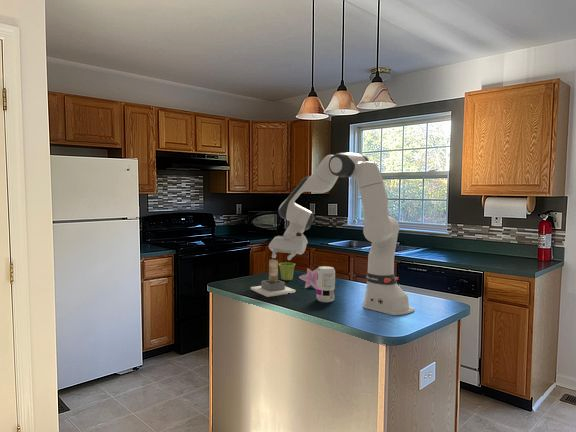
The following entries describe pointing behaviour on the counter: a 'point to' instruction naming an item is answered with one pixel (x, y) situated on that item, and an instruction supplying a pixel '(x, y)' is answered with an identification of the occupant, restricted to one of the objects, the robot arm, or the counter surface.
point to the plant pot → (287, 270)
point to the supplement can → (325, 284)
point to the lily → (310, 278)
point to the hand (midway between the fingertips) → (280, 258)
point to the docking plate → (272, 288)
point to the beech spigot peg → (273, 271)
